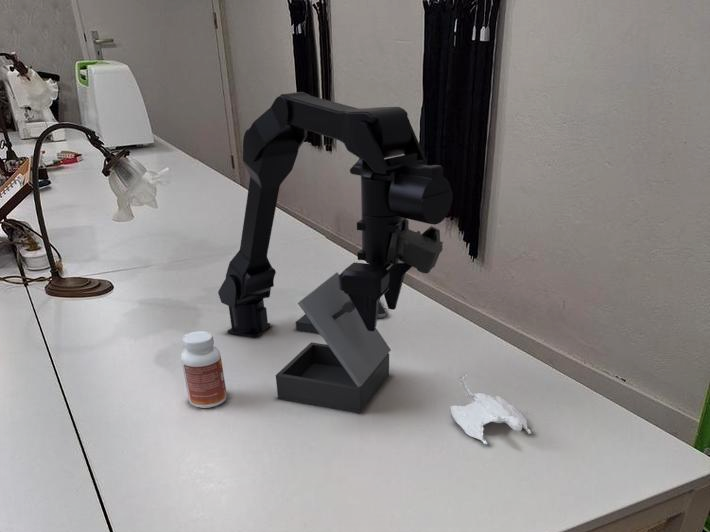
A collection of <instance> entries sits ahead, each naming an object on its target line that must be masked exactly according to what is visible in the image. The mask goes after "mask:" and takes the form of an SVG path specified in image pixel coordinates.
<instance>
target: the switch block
mask: <svg viewBox="0 0 710 532" xmlns="http://www.w3.org/2000/svg"><path fill="white" fill-rule="evenodd" d="M295 330H296V331H300V332H306V333H315V334H319V332H318V331H317V329H316V328H315V327H314V325H313V324H312V322H311V321H310V320H309V318H308V317H307V315H306V314H305V313H304V314H303V315H302V316H301V317H299V319H297V321H295Z"/></svg>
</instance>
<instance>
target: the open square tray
mask: <svg viewBox="0 0 710 532" xmlns="http://www.w3.org/2000/svg"><path fill="white" fill-rule="evenodd" d="M389 377H390V353H388V354H387V355H386V357H385V358H384V359H383V360H382V362H381V363H380V364H379V365H378V366H377V368H376V369H375V370H374V371H373V372H372V374H371V375H370V376H369V377H368V378H367V380H366V381H365V382H364V383H363V385H362V386H360V387H358V386H357V385H356V384H355V382H354V381H353V379H352V378H351V377H350V375H349V374H348V372H347V371H346V370H345V368H344V367H343V366H342V364H341V363H340V361H339V360H338V359H337V357H336V356H335V354H334V353H333V352H332V350H331V349H330V347H329V346H328V345H327V343H326V344H325V343H320V342H319V343H318V342H313V341H311V342H310V343H309V344H307V345H306V346H305V347H304V348H303V349H302V350H301V351H300V352H299V353H298V354H297V355H296V356H294V358H293V359H291V360H290V361H289V362H288V363H287V364H286V365H285V366H284V367H283V368H282V369H281V370H279V371H278V372H277V374H276V375H275V382H276V383H275V384H276V393H277V399H278V400H283V401H289V402H294V403H299V404H306V405H311V406H317V407H323V408H328V409H333V410H339V411H344V412H350V413H356V414H362V413H363V411H364V410H365V408H366V407H367V406H368V404H370V402H371V400H373V398H374V397H375V396H376V394H377V393H378V392H379V391H380V389H381V387H382V386H384V384H385V382H387V380H388V379H389Z"/></svg>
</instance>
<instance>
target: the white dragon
mask: <svg viewBox="0 0 710 532" xmlns="http://www.w3.org/2000/svg"><path fill="white" fill-rule="evenodd" d="M466 377H467V374H465V375H462V376H460V377H459V379H460V382H461V384H462V388H464V390H465V393H466V394H467V397H468V398H469V399H472V400H473V401H471V402H470V403H467V405H465V406H464V405H451V406H450V414H451V416H452V419H453V420H454V421H455V422H456V423H457V424H458V425H459V427H461V429H463V431H464V432H465V434H466V435H468V436H470V437H471V438H475V439H477V440H480V441H481V442H482V443H483V445H485V446H488V441H487V440H486V439H484V430H485V428H484V426H485V425H487V424H489V423H496V424H503V423H505V424H507V425H508V427H510V428H511V429H512V430H513V431H514V432H521V431H522V430H523V429H524V430H525V431H526V432H527V434H528V435H532V431H531V430H530V429H529V428H528V420H527V419H526V418H525V416H523V415H522V413H521V412H520V411H518V410H517V409H516V408H515V407H514V405H512V404H510V403H509V402H507V401H506V400H505V399H503V398H502V397H501V396H499V395H496V396H495V398H494V397H493V396H490V395H488V394H487V393H483V392H478V393H473V392H471V390H470V389H469V387H468V386H467V385H466V382H465V380H466Z"/></svg>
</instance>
